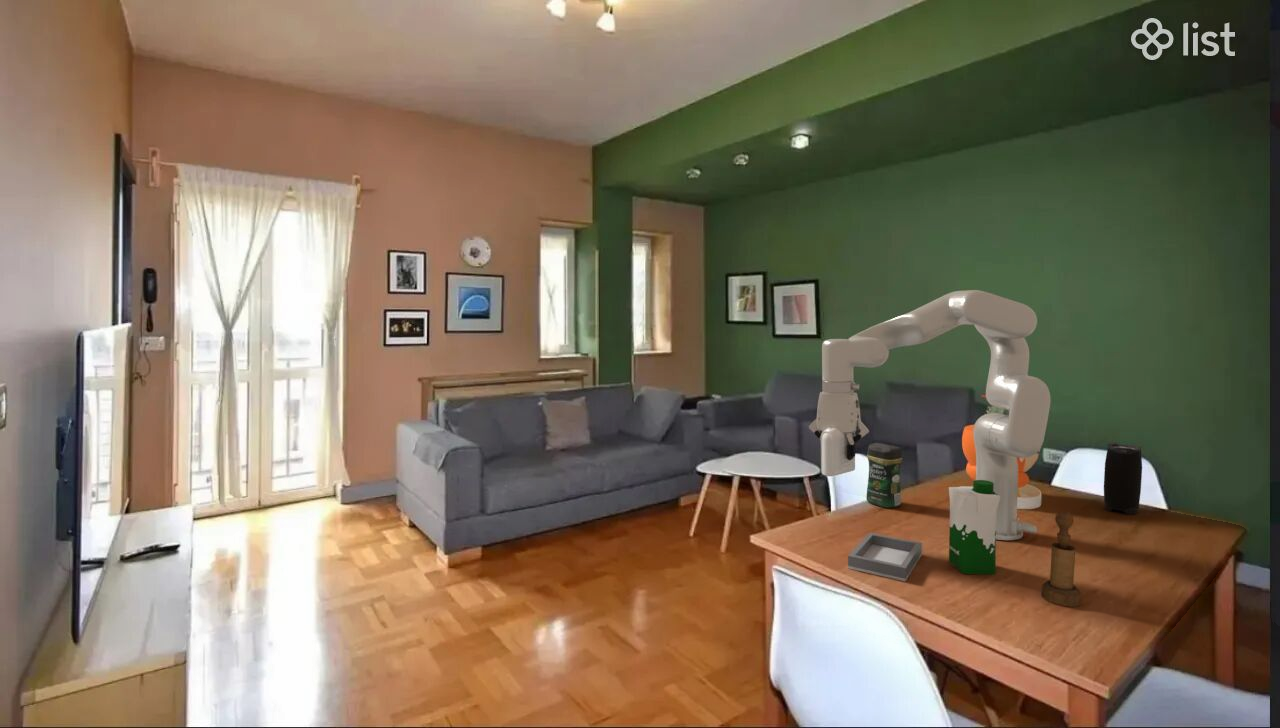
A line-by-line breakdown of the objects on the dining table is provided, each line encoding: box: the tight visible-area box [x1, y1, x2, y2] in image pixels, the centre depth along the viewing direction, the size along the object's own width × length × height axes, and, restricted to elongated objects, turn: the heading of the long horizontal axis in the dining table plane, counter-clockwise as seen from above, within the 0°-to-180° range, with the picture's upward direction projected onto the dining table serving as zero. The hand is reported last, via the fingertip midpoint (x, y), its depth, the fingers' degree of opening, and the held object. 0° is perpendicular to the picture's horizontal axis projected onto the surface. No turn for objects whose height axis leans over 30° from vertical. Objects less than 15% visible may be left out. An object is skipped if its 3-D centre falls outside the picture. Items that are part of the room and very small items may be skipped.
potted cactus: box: [961, 394, 1043, 510], centre depth 187 cm, size 22×22×35 cm
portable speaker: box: [1103, 442, 1143, 515], centre depth 174 cm, size 8×9×19 cm
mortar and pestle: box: [1041, 511, 1082, 608], centre depth 122 cm, size 7×6×18 cm
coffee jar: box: [866, 442, 903, 509], centre depth 184 cm, size 10×8×19 cm
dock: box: [847, 532, 923, 582], centre depth 143 cm, size 12×17×3 cm
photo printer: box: [820, 427, 856, 477], centre depth 155 cm, size 10×4×12 cm, turn 125°
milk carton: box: [948, 480, 1000, 575], centre depth 138 cm, size 9×9×20 cm
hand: (838, 457), depth 155 cm, fingers closed on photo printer, 5 cm apart
